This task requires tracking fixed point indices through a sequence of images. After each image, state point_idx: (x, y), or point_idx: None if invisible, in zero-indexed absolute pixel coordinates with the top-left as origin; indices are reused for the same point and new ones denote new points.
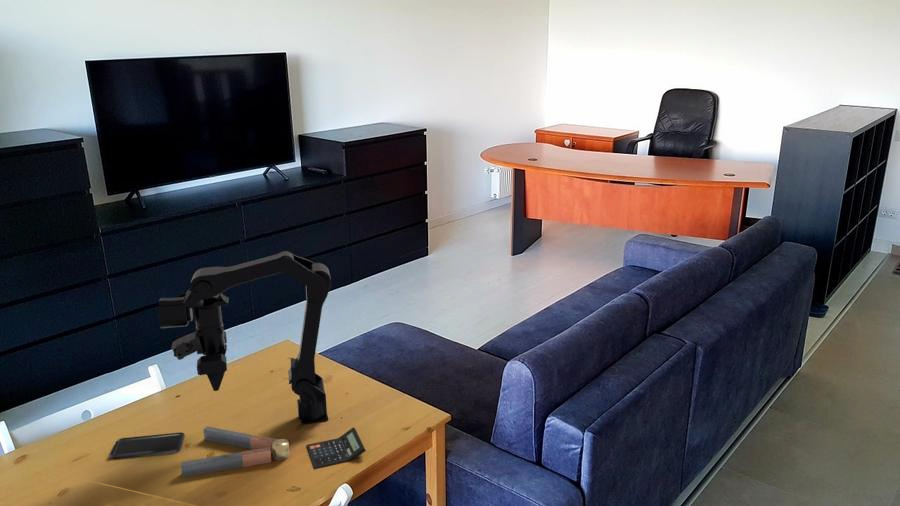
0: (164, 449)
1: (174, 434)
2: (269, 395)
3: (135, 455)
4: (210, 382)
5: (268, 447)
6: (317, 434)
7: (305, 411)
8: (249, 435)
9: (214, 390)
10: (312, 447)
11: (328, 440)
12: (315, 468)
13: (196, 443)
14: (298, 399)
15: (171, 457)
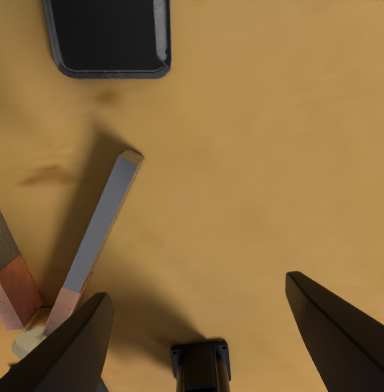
0: (66, 18)
1: (164, 38)
2: (331, 281)
3: None
4: (19, 363)
5: (22, 325)
6: (132, 367)
7: (182, 378)
8: (77, 285)
9: (95, 298)
10: None
11: (100, 386)
12: (11, 368)
13: (116, 125)
14: (211, 389)
15: (38, 55)
